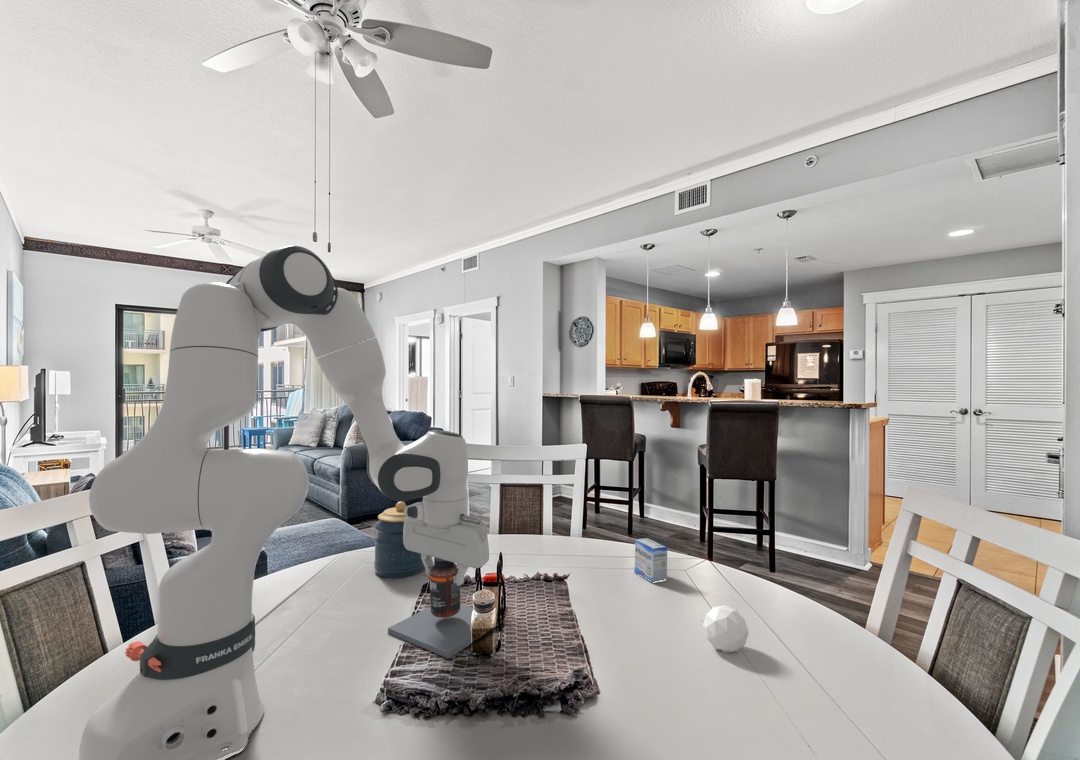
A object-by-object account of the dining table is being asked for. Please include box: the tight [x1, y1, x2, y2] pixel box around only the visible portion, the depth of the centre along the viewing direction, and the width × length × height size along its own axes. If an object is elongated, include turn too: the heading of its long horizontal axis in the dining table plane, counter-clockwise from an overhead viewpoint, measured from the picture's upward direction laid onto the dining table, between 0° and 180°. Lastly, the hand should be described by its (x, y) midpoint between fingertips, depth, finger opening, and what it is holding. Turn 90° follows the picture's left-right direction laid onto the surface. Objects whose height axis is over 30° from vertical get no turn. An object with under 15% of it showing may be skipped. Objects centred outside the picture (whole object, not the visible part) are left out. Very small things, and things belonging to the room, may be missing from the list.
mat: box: [387, 602, 472, 659], centre depth 100 cm, size 16×16×1 cm
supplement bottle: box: [429, 557, 461, 618], centre depth 101 cm, size 6×6×11 cm
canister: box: [373, 501, 425, 579], centre depth 131 cm, size 13×13×18 cm
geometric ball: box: [702, 604, 749, 653], centre depth 93 cm, size 8×8×8 cm
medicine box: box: [633, 538, 668, 582], centre depth 127 cm, size 8×4×9 cm, turn 25°
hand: (444, 579), depth 101 cm, fingers closed on supplement bottle, 6 cm apart
